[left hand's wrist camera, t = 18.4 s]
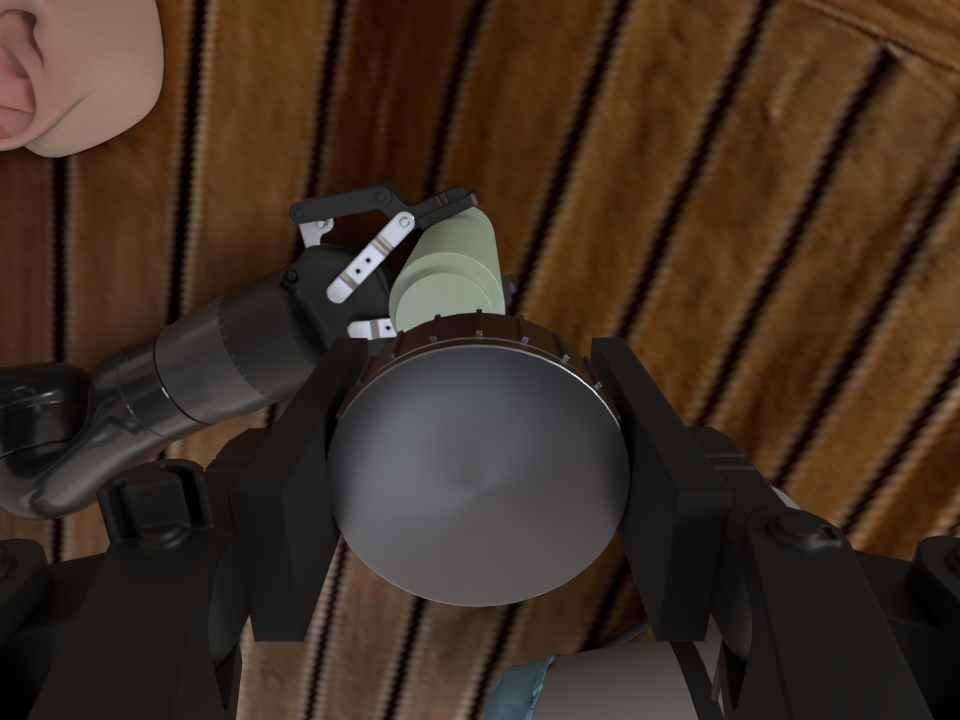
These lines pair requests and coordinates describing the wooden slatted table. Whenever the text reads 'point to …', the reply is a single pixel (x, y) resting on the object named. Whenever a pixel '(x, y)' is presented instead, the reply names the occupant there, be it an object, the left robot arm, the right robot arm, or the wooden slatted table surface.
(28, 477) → the right robot arm
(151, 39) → the anatomical model
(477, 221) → the pale green cylinder
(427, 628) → the wooden slatted table surface
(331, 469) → the lid
